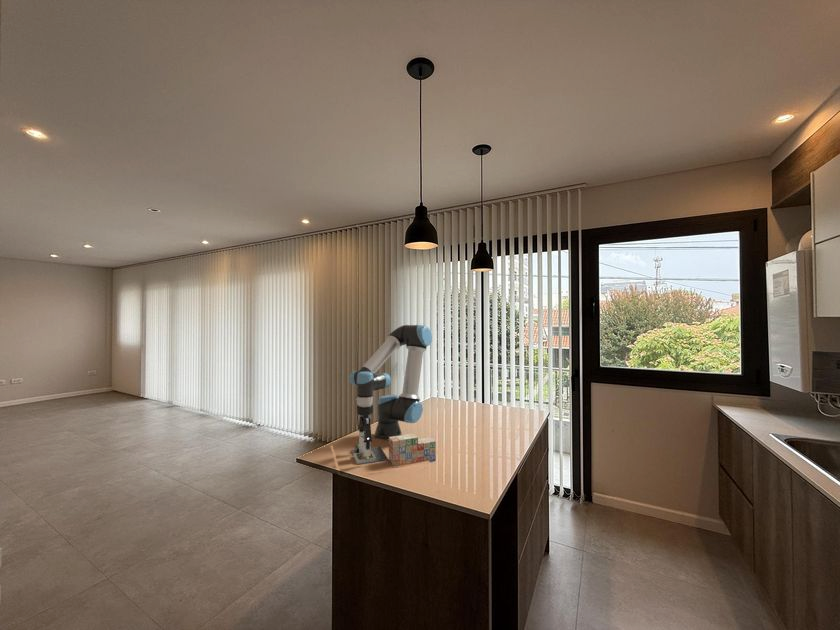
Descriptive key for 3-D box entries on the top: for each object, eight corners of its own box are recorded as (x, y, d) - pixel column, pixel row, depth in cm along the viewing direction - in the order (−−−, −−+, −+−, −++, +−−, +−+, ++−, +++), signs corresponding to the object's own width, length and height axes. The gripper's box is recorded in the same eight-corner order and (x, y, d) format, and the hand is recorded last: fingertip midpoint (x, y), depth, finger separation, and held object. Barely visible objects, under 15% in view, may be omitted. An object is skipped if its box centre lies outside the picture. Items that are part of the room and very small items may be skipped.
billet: (368, 456, 162) (368, 435, 162) (370, 460, 157) (370, 438, 157) (358, 457, 160) (358, 436, 160) (360, 461, 155) (360, 439, 155)
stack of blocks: (430, 456, 165) (430, 430, 165) (435, 461, 159) (435, 434, 159) (388, 463, 157) (388, 436, 157) (392, 468, 151) (392, 440, 151)
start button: (364, 448, 170) (364, 442, 170) (365, 451, 166) (365, 445, 166) (356, 449, 168) (356, 443, 168) (358, 452, 165) (358, 446, 165)
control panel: (380, 448, 174) (380, 441, 174) (389, 462, 157) (389, 455, 157) (350, 452, 169) (350, 445, 169) (356, 467, 152) (356, 459, 152)
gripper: (352, 399, 169) (352, 442, 169) (361, 412, 146) (361, 462, 145) (367, 398, 172) (367, 440, 171) (378, 411, 148) (378, 459, 148)
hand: (364, 450), depth 158 cm, fingers open, 13 cm apart
